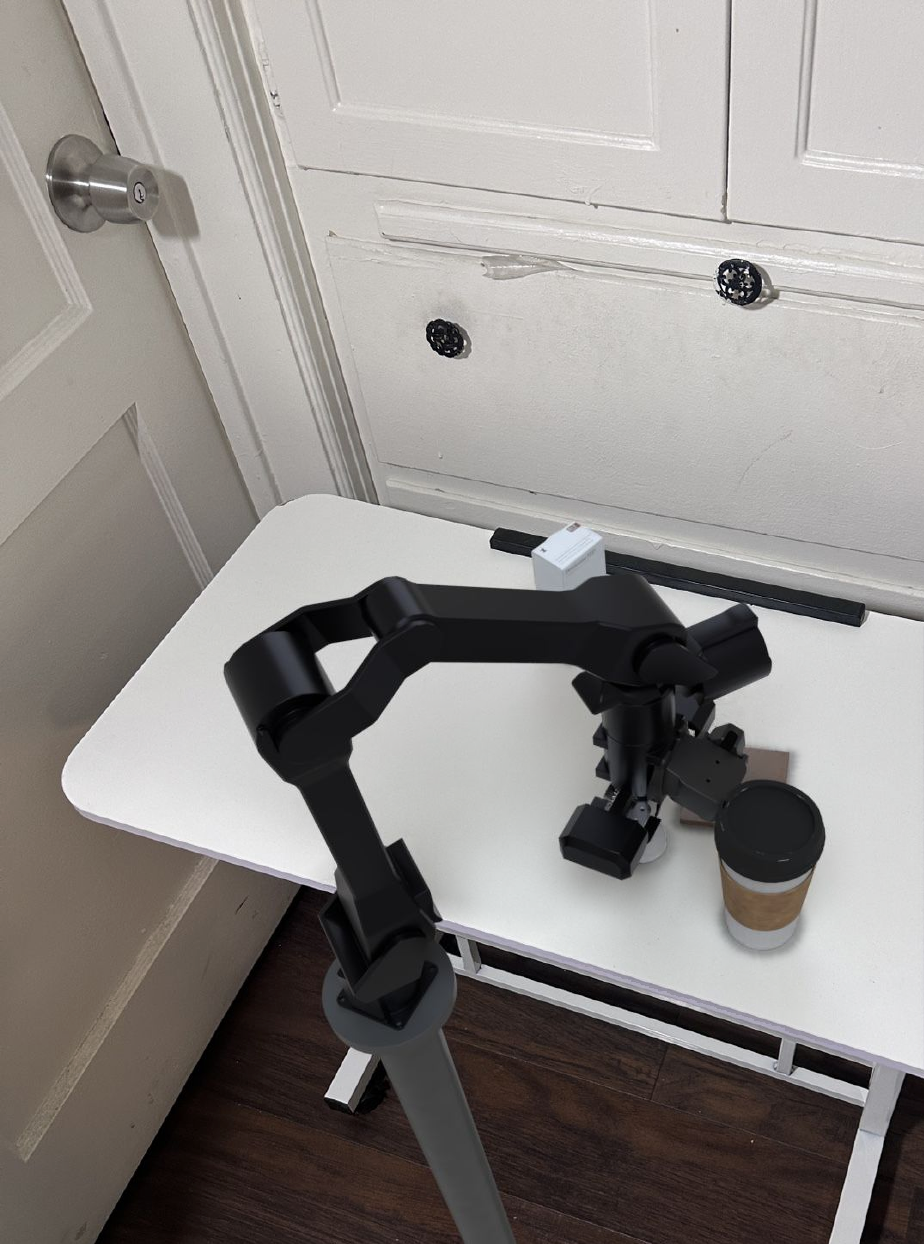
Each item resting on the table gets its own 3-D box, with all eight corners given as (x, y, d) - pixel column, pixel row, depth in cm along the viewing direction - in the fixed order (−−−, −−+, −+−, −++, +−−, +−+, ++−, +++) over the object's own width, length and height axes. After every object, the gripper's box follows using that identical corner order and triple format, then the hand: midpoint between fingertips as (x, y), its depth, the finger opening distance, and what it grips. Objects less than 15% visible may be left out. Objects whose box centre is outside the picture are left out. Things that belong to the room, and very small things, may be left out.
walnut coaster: (780, 834, 109) (780, 830, 108) (679, 823, 110) (679, 819, 109) (789, 755, 114) (789, 751, 114) (692, 745, 115) (693, 741, 115)
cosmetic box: (572, 662, 122) (562, 572, 113) (539, 641, 124) (527, 551, 115) (613, 627, 125) (607, 537, 116) (581, 608, 127) (572, 517, 118)
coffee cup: (726, 866, 107) (732, 760, 95) (822, 892, 105) (839, 787, 93) (698, 947, 102) (700, 846, 90) (797, 976, 100) (812, 876, 88)
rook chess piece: (624, 820, 110) (620, 765, 104) (672, 829, 109) (671, 775, 103) (610, 860, 108) (606, 806, 101) (659, 870, 107) (658, 817, 100)
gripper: (688, 844, 87) (686, 952, 99) (778, 664, 97) (767, 782, 110) (548, 794, 90) (563, 905, 103) (650, 626, 101) (653, 744, 113)
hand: (642, 832), depth 107 cm, fingers open, 4 cm apart
